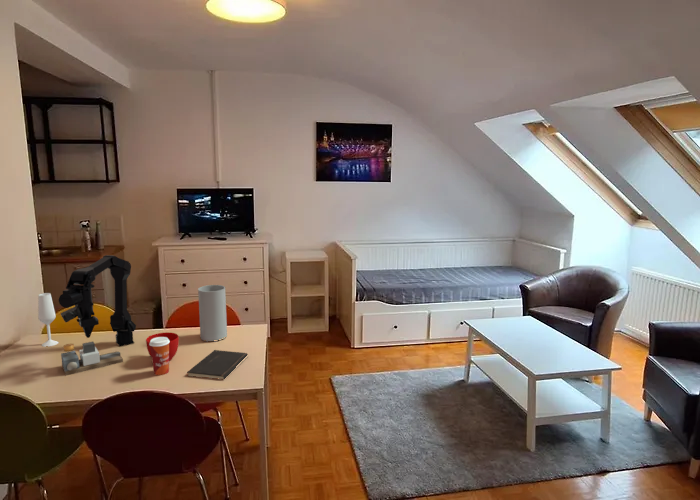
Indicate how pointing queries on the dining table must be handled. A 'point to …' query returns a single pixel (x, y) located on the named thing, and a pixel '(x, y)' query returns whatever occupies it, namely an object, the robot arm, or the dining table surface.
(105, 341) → the dining table surface
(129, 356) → the dining table surface
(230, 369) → the hardcover book
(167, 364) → the paper cup
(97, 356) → the carriage
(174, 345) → the ceramic cup
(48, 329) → the champagne flute
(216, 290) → the cylinder vase
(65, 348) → the button
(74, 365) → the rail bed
